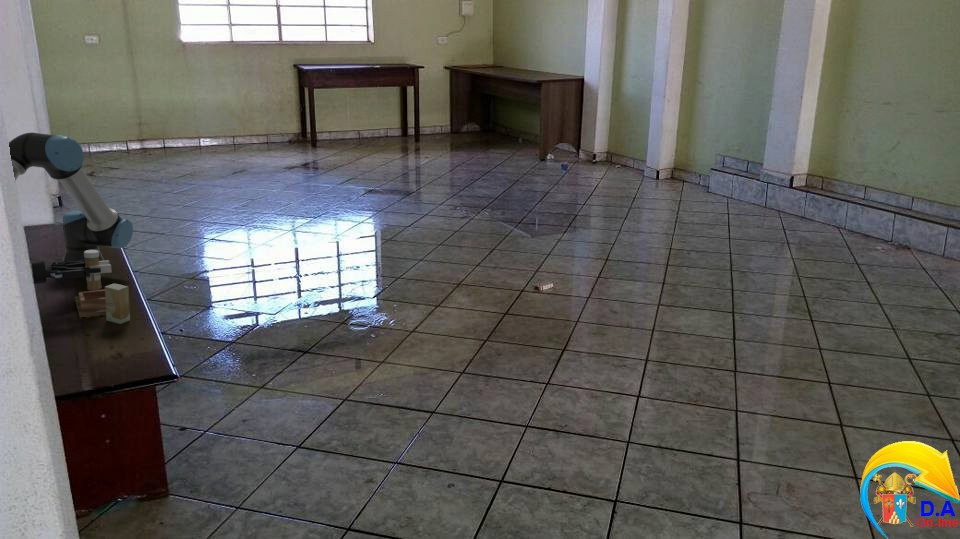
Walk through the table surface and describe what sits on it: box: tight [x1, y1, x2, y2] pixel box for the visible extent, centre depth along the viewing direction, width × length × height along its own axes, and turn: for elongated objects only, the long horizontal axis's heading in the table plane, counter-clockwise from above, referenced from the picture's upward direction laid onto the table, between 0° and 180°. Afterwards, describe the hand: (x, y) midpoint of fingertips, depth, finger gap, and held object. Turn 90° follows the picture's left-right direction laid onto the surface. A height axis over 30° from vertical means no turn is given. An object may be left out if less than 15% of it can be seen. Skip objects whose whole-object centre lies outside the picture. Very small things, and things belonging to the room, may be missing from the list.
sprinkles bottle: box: [84, 250, 102, 291], centre depth 253 cm, size 5×5×13 cm
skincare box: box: [104, 283, 131, 325], centre depth 246 cm, size 6×4×12 cm
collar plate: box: [74, 288, 106, 319], centre depth 257 cm, size 18×12×4 cm, turn 32°
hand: (110, 266), depth 256 cm, fingers closed on sprinkles bottle, 4 cm apart
